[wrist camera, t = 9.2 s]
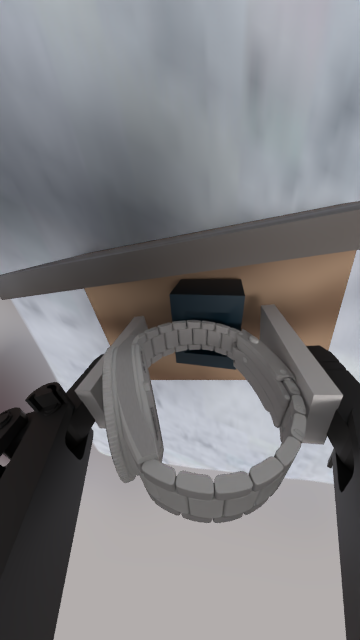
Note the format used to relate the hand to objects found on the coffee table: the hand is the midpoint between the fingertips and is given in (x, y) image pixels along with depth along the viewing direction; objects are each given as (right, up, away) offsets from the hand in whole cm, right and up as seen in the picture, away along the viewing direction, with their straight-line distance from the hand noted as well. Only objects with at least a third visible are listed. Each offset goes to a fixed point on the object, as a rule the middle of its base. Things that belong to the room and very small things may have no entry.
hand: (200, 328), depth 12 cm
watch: (+1, +1, +2) cm, 2 cm away
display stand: (+1, +1, +4) cm, 5 cm away
